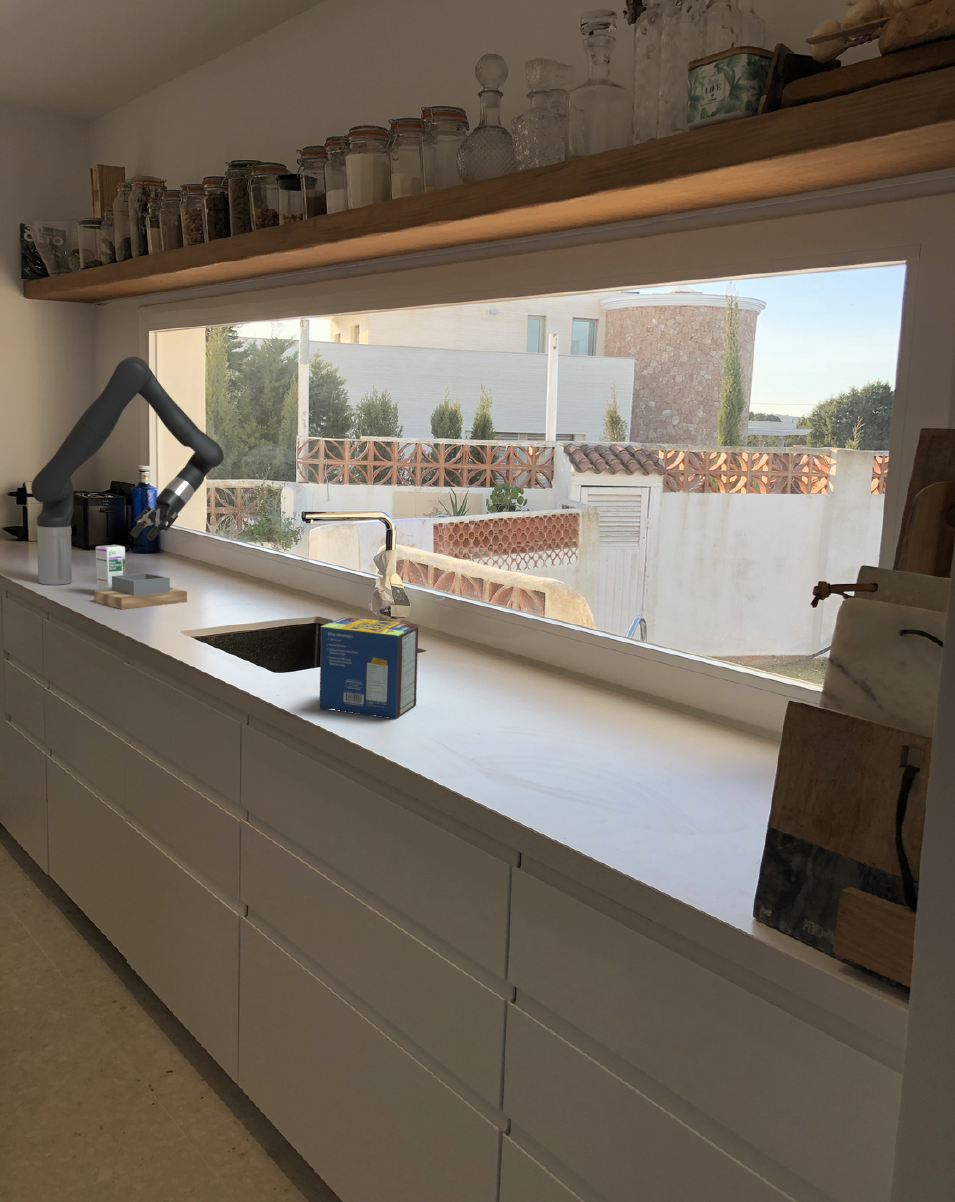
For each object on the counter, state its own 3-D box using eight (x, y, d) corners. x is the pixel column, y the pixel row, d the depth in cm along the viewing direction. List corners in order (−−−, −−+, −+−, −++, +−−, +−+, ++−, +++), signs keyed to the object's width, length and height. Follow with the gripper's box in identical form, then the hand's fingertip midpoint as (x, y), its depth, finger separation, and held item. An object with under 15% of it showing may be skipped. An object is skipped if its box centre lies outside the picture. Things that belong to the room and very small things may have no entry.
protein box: (341, 695, 192) (343, 616, 190) (417, 705, 188) (419, 624, 185) (317, 709, 182) (319, 625, 180) (396, 720, 178) (399, 634, 175)
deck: (94, 601, 275) (94, 591, 274) (158, 594, 290) (158, 584, 289) (121, 609, 266) (121, 598, 265) (186, 601, 281) (186, 591, 281)
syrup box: (108, 599, 280) (107, 547, 278) (96, 596, 283) (95, 545, 281) (126, 596, 284) (125, 546, 282) (114, 594, 288) (113, 543, 286)
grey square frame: (112, 590, 277) (111, 576, 276) (147, 586, 285) (147, 572, 284) (133, 595, 270) (133, 581, 269) (169, 592, 278) (169, 577, 277)
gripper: (153, 485, 297) (118, 525, 290) (181, 489, 288) (146, 530, 281) (169, 503, 302) (135, 543, 295) (197, 507, 293) (162, 548, 286)
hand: (140, 537), depth 288 cm, fingers open, 8 cm apart
